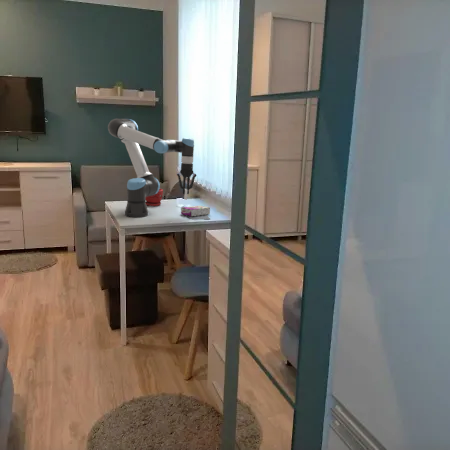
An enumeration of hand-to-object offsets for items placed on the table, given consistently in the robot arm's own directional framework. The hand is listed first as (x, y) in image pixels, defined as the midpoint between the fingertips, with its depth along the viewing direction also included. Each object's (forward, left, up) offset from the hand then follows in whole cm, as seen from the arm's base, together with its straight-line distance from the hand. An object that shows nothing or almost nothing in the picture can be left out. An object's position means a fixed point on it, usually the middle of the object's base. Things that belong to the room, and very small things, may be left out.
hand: (185, 199), depth 284 cm
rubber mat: (+9, -1, -12) cm, 15 cm away
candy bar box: (+1, +2, -9) cm, 9 cm away
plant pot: (-18, +39, -12) cm, 44 cm away
